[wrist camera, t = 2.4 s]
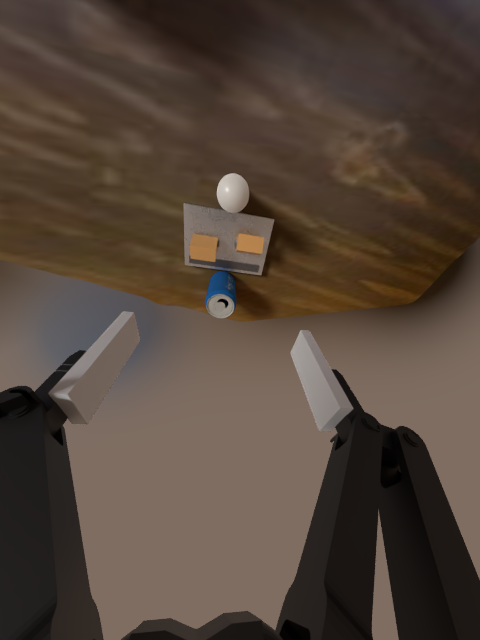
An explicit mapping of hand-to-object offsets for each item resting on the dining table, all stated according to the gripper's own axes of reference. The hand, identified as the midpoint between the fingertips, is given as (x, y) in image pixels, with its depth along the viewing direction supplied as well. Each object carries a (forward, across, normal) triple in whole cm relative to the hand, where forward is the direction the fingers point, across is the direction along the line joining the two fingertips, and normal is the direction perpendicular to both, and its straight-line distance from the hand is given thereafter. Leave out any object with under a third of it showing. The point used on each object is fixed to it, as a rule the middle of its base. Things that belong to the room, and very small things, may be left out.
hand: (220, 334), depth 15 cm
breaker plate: (+32, 0, 0) cm, 32 cm away
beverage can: (+32, 0, -10) cm, 34 cm away
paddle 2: (+30, +4, 0) cm, 30 cm away
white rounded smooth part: (+32, 0, +10) cm, 33 cm away
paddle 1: (+30, -5, 0) cm, 30 cm away
